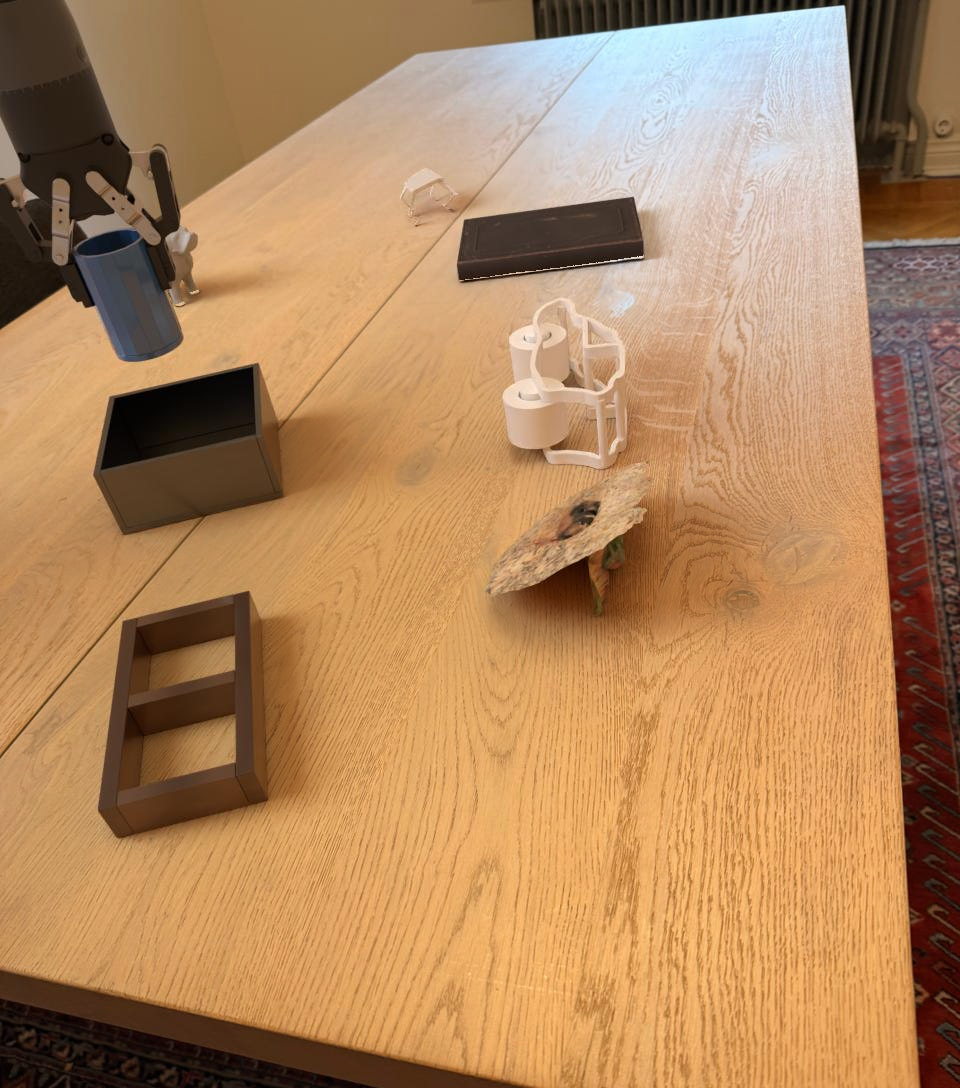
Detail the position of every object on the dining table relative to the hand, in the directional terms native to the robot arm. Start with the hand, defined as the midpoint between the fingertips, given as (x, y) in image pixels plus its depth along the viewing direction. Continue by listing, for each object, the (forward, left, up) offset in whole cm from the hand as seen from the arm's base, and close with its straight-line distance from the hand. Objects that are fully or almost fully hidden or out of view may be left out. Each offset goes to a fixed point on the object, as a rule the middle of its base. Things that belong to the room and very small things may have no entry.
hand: (129, 294), depth 79 cm
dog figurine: (-5, +50, -19) cm, 54 cm away
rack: (0, -33, -19) cm, 38 cm away
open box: (0, +1, -19) cm, 19 cm away
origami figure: (+33, +62, -19) cm, 73 cm away
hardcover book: (+45, +38, -19) cm, 62 cm away
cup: (0, 0, -5) cm, 5 cm away
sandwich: (+30, -27, -19) cm, 44 cm away
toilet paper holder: (+36, -4, -19) cm, 41 cm away
